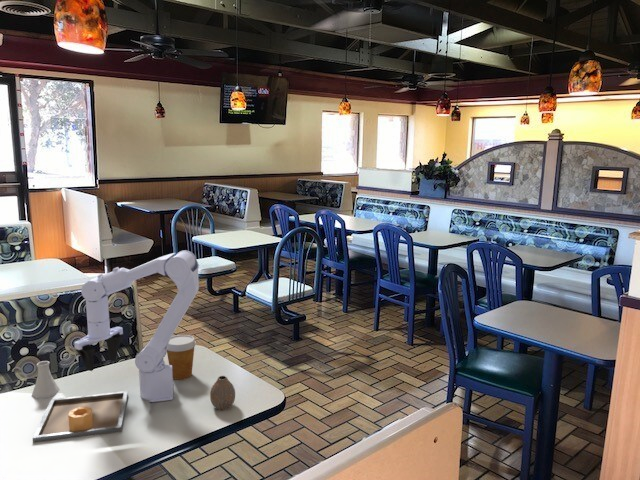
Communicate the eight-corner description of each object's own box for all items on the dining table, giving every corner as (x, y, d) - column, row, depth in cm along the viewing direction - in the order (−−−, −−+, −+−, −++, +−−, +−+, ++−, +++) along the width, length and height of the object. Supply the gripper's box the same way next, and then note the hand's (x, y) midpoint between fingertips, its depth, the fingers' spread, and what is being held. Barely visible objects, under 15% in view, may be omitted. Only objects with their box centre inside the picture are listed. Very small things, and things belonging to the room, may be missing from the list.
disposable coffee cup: (192, 367, 170) (191, 332, 167) (200, 378, 161) (199, 342, 159) (163, 372, 165) (161, 337, 163) (169, 384, 157) (167, 347, 155)
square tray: (128, 394, 149) (127, 390, 149) (121, 431, 130) (120, 427, 130) (51, 403, 144) (51, 399, 143) (32, 442, 125) (32, 438, 124)
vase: (240, 406, 145) (240, 377, 143) (220, 415, 140) (219, 385, 138) (225, 398, 149) (225, 369, 148) (205, 406, 144) (204, 377, 143)
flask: (48, 402, 145) (45, 369, 144) (25, 400, 147) (22, 367, 145) (65, 391, 152) (62, 359, 151) (43, 388, 154) (41, 356, 152)
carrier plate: (128, 397, 149) (128, 394, 149) (121, 434, 130) (121, 431, 130) (51, 405, 144) (51, 403, 144) (33, 445, 125) (32, 442, 125)
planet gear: (93, 419, 135) (92, 405, 134) (91, 430, 130) (89, 415, 129) (72, 422, 134) (70, 408, 133) (68, 433, 129) (67, 418, 128)
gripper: (110, 310, 154) (113, 353, 156) (65, 324, 141) (69, 371, 144) (126, 314, 150) (129, 358, 153) (82, 329, 138) (86, 376, 141)
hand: (101, 364), depth 148 cm, fingers open, 7 cm apart
